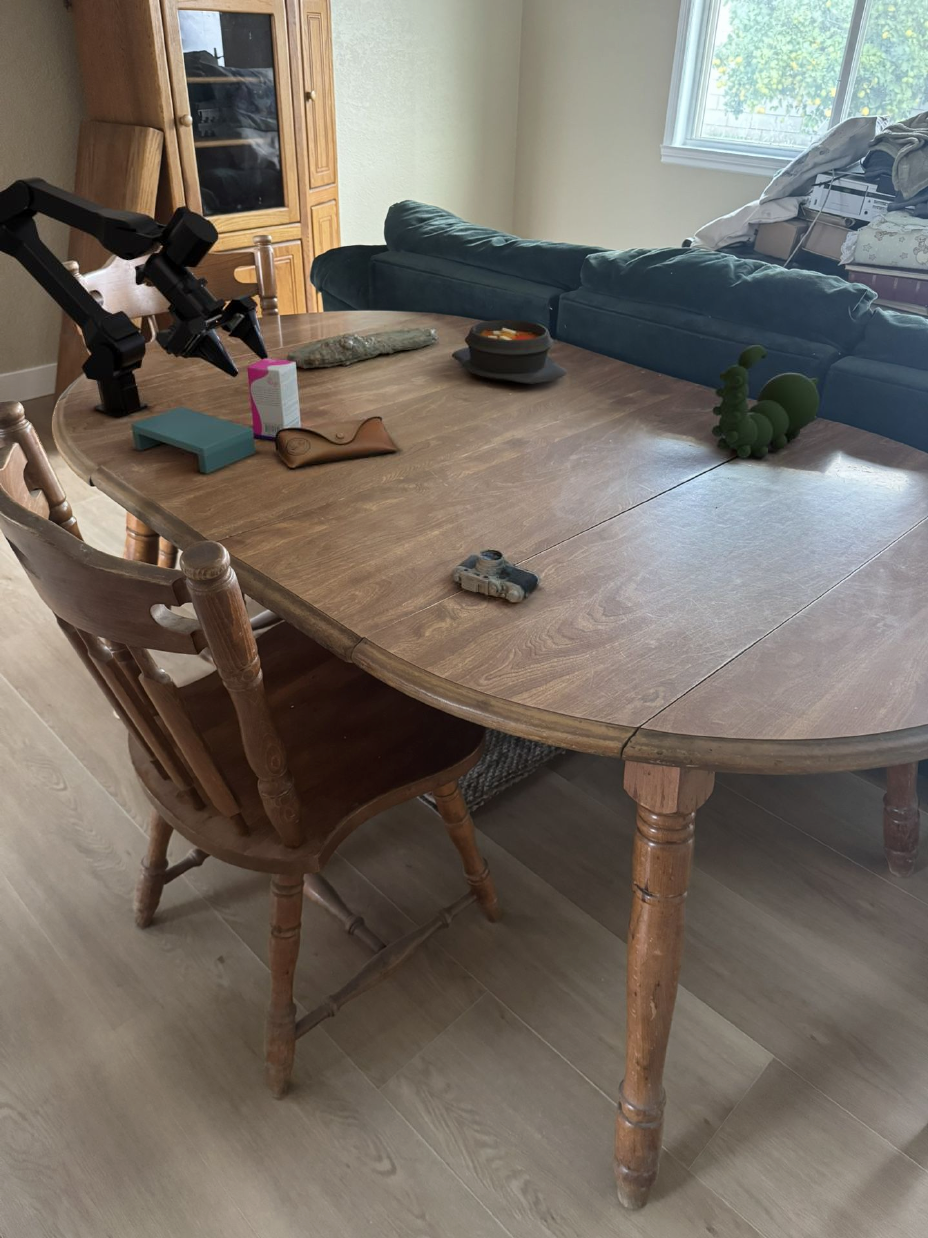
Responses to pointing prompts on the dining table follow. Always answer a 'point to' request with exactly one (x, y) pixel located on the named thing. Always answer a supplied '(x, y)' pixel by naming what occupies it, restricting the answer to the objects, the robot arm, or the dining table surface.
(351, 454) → the sunglasses case
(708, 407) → the dining table surface
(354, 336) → the elongated rock
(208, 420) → the shelf
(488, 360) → the casserole
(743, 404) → the toy figurine
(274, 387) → the supplement box
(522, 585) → the camera
